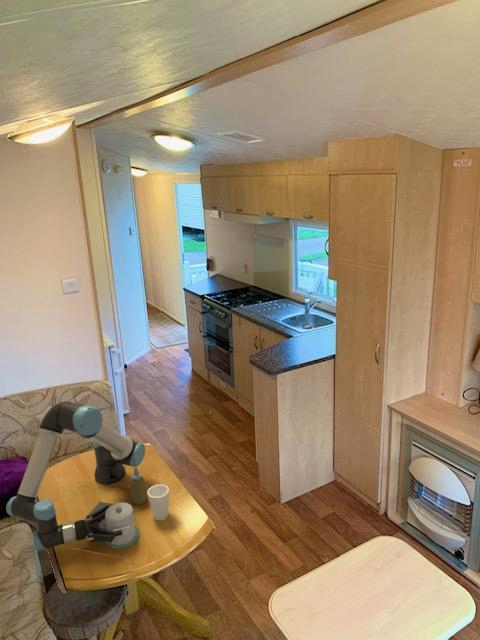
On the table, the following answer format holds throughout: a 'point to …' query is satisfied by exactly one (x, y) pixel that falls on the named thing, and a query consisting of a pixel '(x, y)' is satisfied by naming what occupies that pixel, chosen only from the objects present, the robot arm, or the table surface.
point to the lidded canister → (120, 521)
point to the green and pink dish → (127, 543)
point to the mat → (98, 507)
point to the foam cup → (159, 501)
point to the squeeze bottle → (137, 488)
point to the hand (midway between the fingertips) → (128, 518)
